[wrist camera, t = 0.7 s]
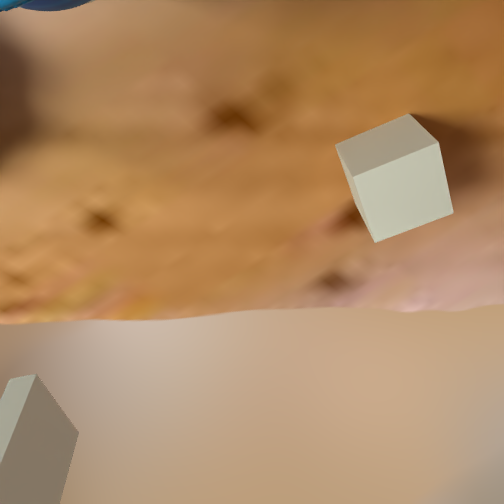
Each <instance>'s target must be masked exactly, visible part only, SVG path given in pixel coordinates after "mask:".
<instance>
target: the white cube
mask: <svg viewBox="0 0 504 504" xmlns="http://www.w3.org/2000/svg"><path fill="white" fill-rule="evenodd" d="M335 146H336V149H337V152H338V155H339V158H340V160H341V163H342V166H343V169H344V172H345V175H346V178H347V181H348V183H349V186H350V189H351V192H352V195H353V198H354V201H355V204H356V206H357V208H358V210H359V212H360V214H361V216H362V218H363V220H364V222H365V224H366V226H367V228H368V230H369V232H370V234H371V236H372V238H373V240H374V242H375V243H376V242H378V241H381V240H384V239H386V238H389V237H392V236H394V235H397V234H400V233H402V232H405V231H408V230H410V229H413V228H416V227H418V226H421V225H424V224H426V223H429V222H432V221H434V220H437V219H440V218H442V217H445V216H448V215H450V214H453V208H452V203H451V198H450V194H449V189H448V184H447V179H446V175H445V170H444V165H443V160H442V156H441V151H440V146H439V142H438V141H437V140H436V139H435V138H434V137H433V136H432V135H431V134H430V133H429V132H428V131H427V130H426V129H425V128H423V127H422V126H421V125H420V124H419V123H418V122H417V121H416V120H415V119H414V118H413V117H412V116H411V115H410V114H407V115H404V116H402V117H399V118H397V119H395V120H392V121H390V122H387V123H385V124H383V125H380V126H378V127H376V128H373V129H371V130H368V131H366V132H364V133H361V134H359V135H357V136H354V137H352V138H349V139H347V140H345V141H342V142H340V143H338V144H335Z"/></svg>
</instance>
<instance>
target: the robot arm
mask: <svg viewBox="0 0 504 504" xmlns="http://www.w3.org/2000/svg"><path fill="white" fill-rule="evenodd" d="M77 437H78V431H77V429H76V428H75V427H74V425H73V424H72V423H71V421H70V420H69V418H68V417H67V416H66V414H65V413H64V411H63V410H62V409H61V407H60V406H59V405H58V403H57V402H56V400H55V399H54V398H53V396H52V395H51V394H50V392H49V391H48V389H47V388H46V387H45V385H44V384H43V383H42V381H41V380H40V378H39V377H38V376H37V374H34V375H28V376H23V377H18V378H13V379H10V380H9V382H8V384H7V387H6V389H5V391H4V393H3V395H2V398H1V400H0V504H60V500H61V496H62V493H63V489H64V485H65V482H66V478H67V474H68V471H69V467H70V463H71V460H72V456H73V452H74V448H75V445H76V441H77Z"/></svg>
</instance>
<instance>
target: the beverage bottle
mask: <svg viewBox="0 0 504 504" xmlns="http://www.w3.org/2000/svg"><path fill="white" fill-rule="evenodd" d="M93 1H95V0H0V12H1V11H8V10H10V9H13V8H17V7H21V8H25V9H30V10H37V11H60V10H66V9H71V8H74V7H77V6H80V5H83V4H85V3H89V2H93Z"/></svg>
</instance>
